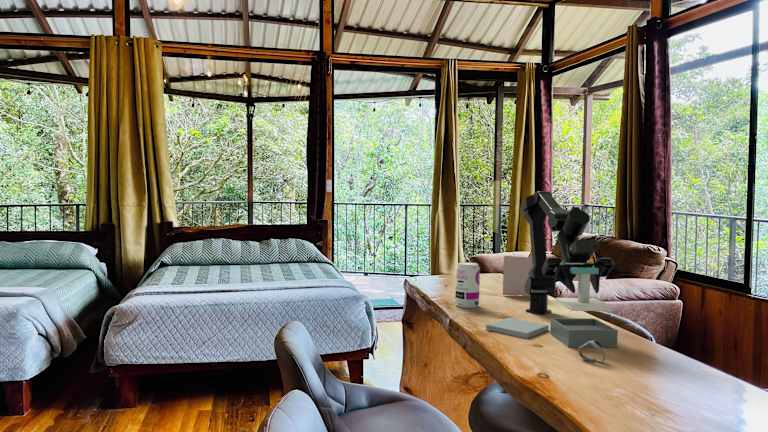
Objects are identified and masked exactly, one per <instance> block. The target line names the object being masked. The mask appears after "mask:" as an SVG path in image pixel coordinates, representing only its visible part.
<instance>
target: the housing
mask: <svg viewBox="0 0 768 432" xmlns="http://www.w3.org/2000/svg"><path fill="white" fill-rule="evenodd" d="M549 325H550V328H549V329H550V331H549V334H550V335H551V336H552V337H554V338H555V339H556V340H558V341H559V342H560V343H562V344H563V345H564V344H565V345H564V346H566V347H568V348H579V347H580V346H582V345H584V344H586V343H587V342H589V341H593V340H594V341H597V342H598V343H600V344H601V345H602V346H603V347H604V348H618V336H619V335H618V332H619V331H618V330H617V329H616V328H615V327H612V326H611V325H608V324H606V323H605V322H602V321H601V320H599V319H597V318H592V317H591V318H584V317H583V318H579V317H578V318H570V317H569V318H564V317H563V318H562V317H560V318H559V317H558V318H555V317H554V318H550V324H549ZM583 348H594V347H593V345H591V344H587V345H586V346H584V347H583Z"/></svg>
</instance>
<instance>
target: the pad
mask: <svg viewBox="0 0 768 432" xmlns="http://www.w3.org/2000/svg"><path fill="white" fill-rule="evenodd" d="M549 325H550V324H544V323H540V322H535V321H534V322H533V321H528V320H524V319H520V318H515V317H507V318H503V319H500V320H497V321H494V322H490V323H487V324H485V330H486V331H489V332H494V333H500V334H502V335H503V334H504V335H508V336H513V337H517V338H521V339H530V338H533V337H535V336H537V335H539V334H543V333H544V332H547V331H549Z"/></svg>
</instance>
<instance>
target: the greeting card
mask: <svg viewBox="0 0 768 432" xmlns="http://www.w3.org/2000/svg"><path fill="white" fill-rule="evenodd" d="M532 266H533V262H532V257H527V256H516V255H515V256H514V255H503V266H502V267H503V268H502V269H503V271H502V274H503V275H502V296H503V295H522V296H521V297H530V295H529V294H527V293H525V289H524V286H525V284H526V281H527V279H528V277H529V271H530V269H531V267H532Z"/></svg>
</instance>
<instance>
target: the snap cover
mask: <svg viewBox="0 0 768 432" xmlns="http://www.w3.org/2000/svg"><path fill="white" fill-rule="evenodd" d="M569 272H570V274H573V275H577V276H578V279H577V280H578V281H577V284H578V285H577V297H556V298H555V303H556V304H559V305H561V306H562V307H565V308H566V309H568V310H570V311H571V312H574V311H575V312H584V311H585V312H613V310H614V309H613V308H614V306H613V305H610V304H608V303H606V302H604V301H602V300H601V299H597V298H595V297H590V295H591V294H590V292H591V282H590V275H591V274H599V268H590V267H571V270H570V271H569Z"/></svg>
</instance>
